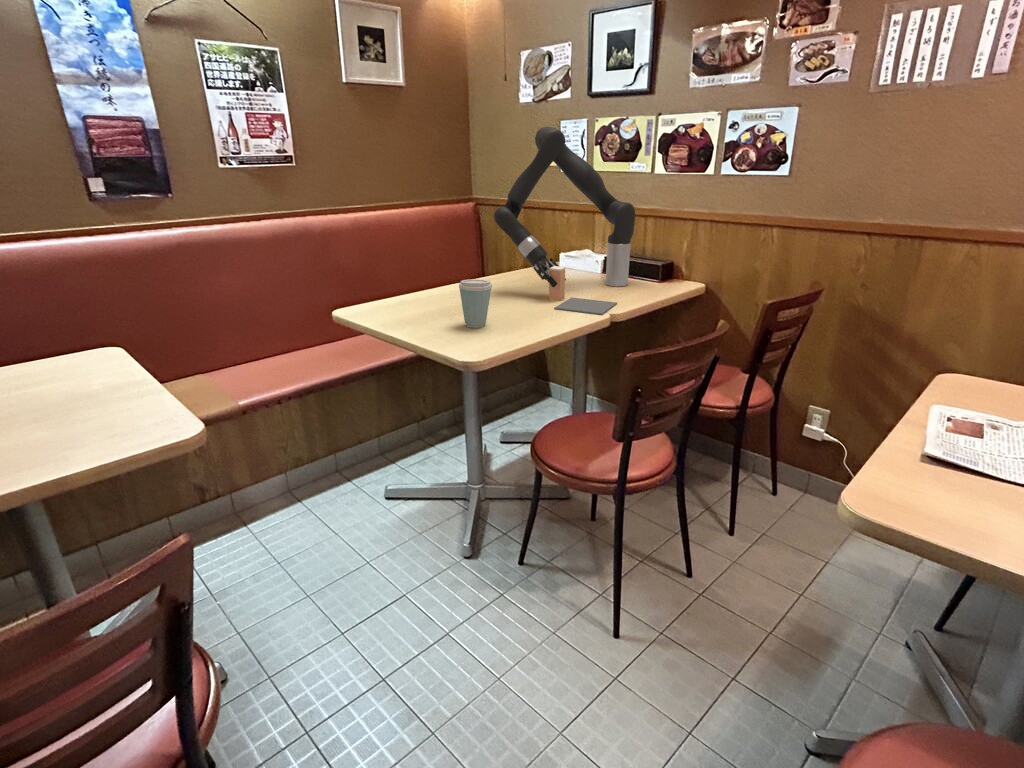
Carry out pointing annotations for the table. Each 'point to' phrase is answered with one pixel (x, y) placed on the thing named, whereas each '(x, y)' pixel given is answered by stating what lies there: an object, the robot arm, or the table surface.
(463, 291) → the disposable coffee cup
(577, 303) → the charcoal mat
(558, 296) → the terracotta block
